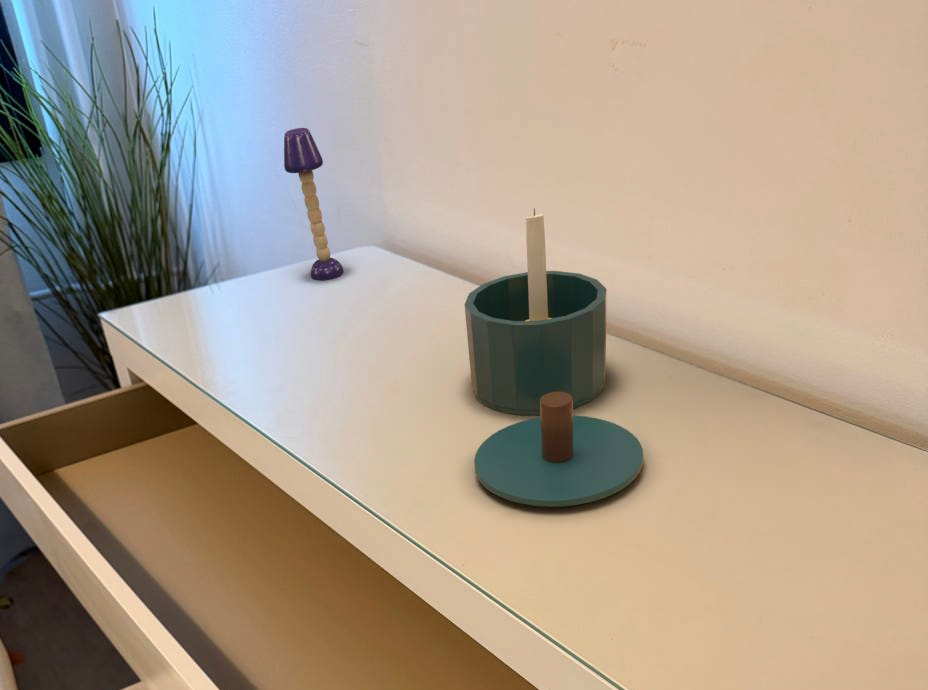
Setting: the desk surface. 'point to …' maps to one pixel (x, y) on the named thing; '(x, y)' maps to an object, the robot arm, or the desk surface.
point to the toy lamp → (310, 196)
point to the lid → (558, 457)
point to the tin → (536, 342)
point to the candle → (536, 268)
